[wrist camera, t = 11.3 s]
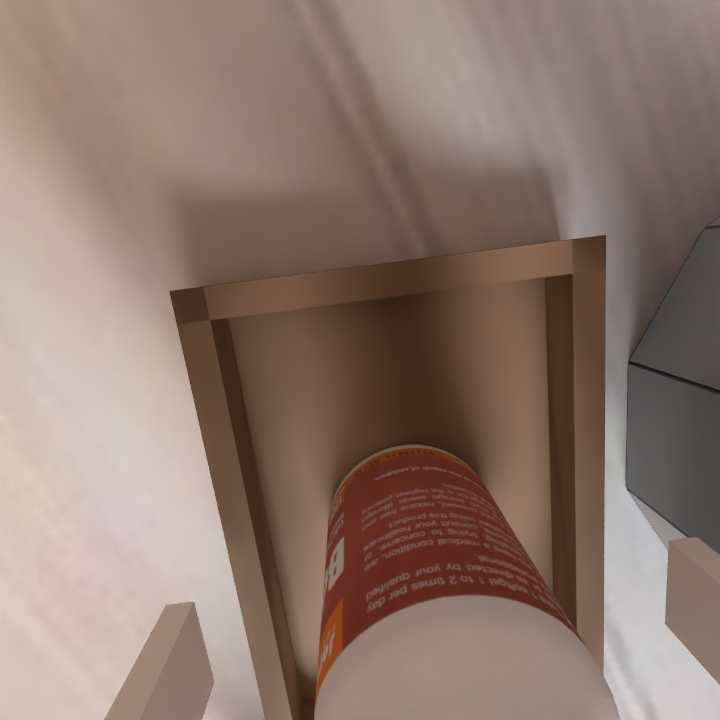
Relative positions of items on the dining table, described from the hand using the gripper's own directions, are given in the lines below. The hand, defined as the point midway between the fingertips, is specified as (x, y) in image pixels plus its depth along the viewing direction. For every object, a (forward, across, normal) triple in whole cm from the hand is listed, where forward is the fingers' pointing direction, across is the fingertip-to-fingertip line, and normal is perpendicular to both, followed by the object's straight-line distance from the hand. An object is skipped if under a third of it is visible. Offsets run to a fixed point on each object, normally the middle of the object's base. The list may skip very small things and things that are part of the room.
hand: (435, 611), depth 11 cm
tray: (+6, 0, 0) cm, 6 cm away
